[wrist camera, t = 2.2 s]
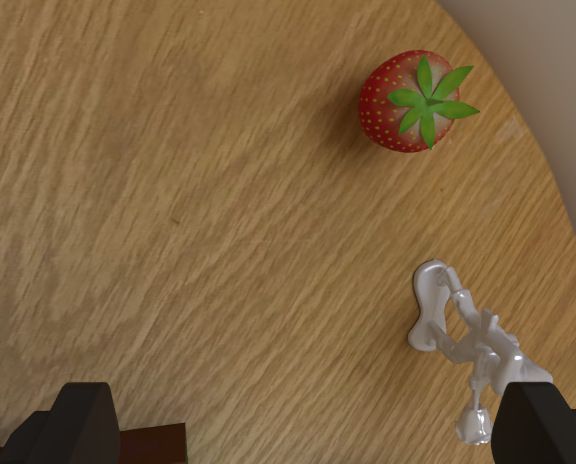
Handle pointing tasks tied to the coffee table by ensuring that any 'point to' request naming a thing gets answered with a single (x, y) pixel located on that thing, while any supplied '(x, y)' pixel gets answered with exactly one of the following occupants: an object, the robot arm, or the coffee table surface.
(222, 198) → the coffee table surface
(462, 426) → the figurine
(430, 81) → the fruit
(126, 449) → the hardcover book
